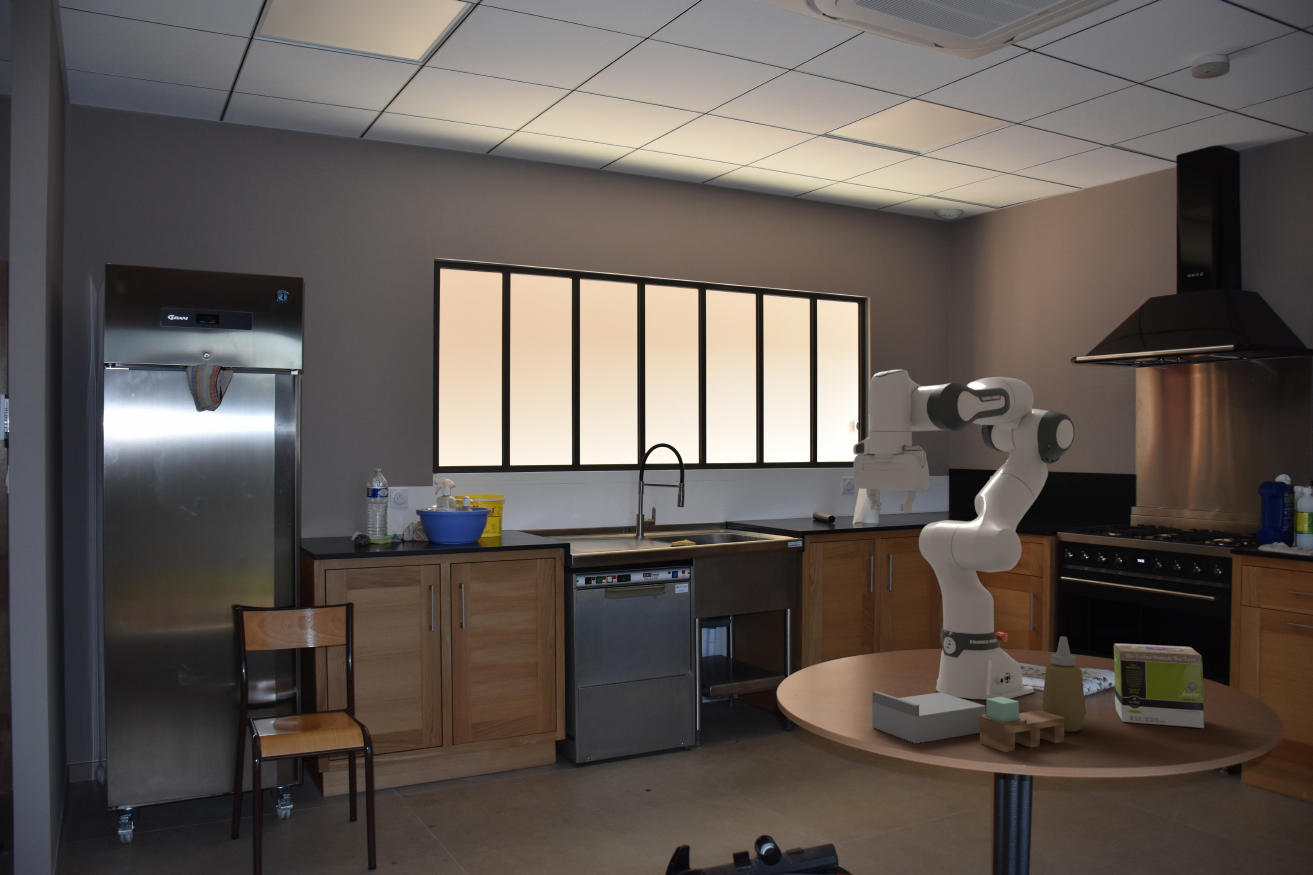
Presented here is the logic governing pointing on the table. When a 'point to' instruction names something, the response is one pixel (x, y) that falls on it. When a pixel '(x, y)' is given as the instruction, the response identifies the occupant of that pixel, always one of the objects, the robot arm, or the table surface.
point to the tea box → (1159, 685)
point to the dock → (925, 716)
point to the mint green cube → (1002, 709)
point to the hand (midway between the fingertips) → (890, 511)
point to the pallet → (1021, 730)
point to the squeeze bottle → (1064, 688)
